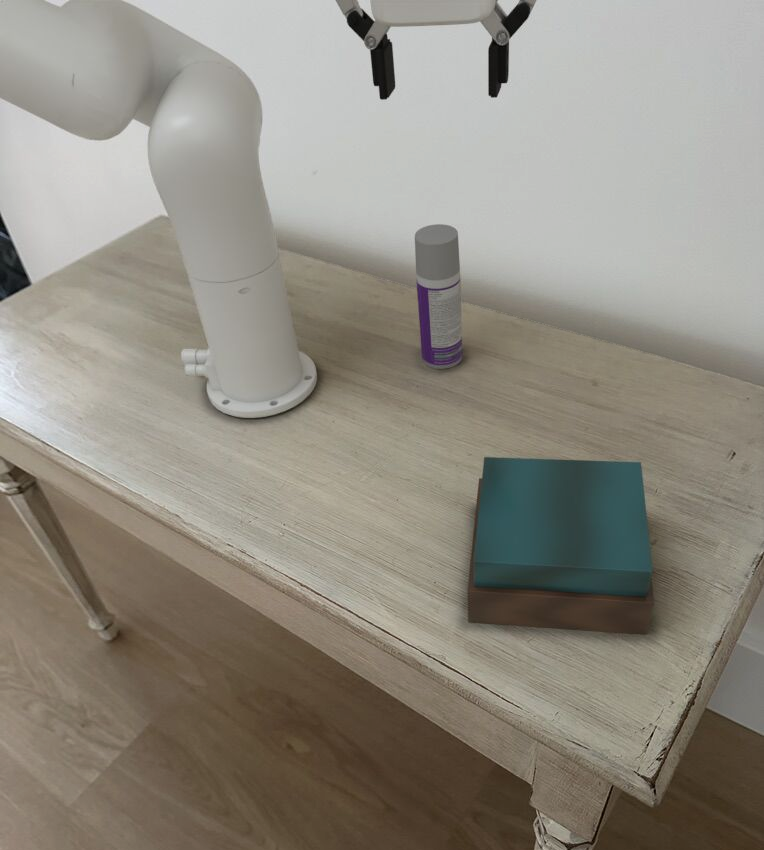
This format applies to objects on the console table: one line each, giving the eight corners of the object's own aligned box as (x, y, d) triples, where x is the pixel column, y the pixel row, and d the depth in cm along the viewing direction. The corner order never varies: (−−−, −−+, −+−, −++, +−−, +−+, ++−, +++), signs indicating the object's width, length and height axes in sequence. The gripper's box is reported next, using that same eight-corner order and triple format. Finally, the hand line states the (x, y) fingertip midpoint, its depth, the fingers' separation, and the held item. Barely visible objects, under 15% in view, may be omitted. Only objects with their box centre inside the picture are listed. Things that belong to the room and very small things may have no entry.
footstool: (468, 622, 65) (466, 566, 60) (479, 509, 73) (478, 452, 69) (646, 634, 62) (660, 577, 57) (635, 516, 71) (647, 458, 66)
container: (419, 348, 93) (410, 226, 83) (459, 343, 93) (455, 221, 83) (424, 371, 90) (416, 247, 79) (465, 366, 90) (462, 241, 79)
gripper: (303, -140, 57) (335, 110, 69) (545, -163, 53) (534, 107, 65) (332, -155, 62) (358, 81, 74) (555, -177, 58) (544, 76, 70)
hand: (440, 93), depth 70 cm, fingers open, 9 cm apart
